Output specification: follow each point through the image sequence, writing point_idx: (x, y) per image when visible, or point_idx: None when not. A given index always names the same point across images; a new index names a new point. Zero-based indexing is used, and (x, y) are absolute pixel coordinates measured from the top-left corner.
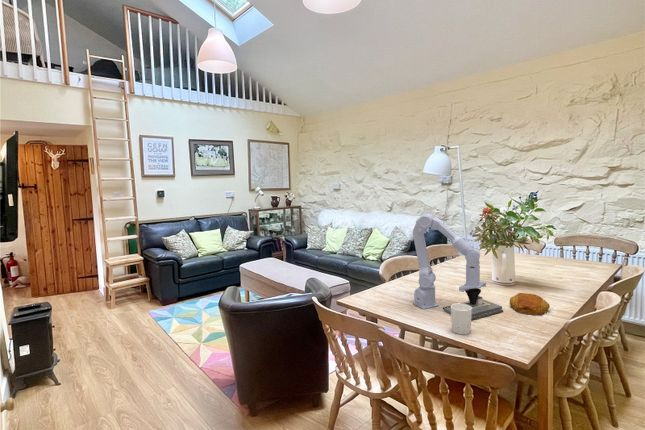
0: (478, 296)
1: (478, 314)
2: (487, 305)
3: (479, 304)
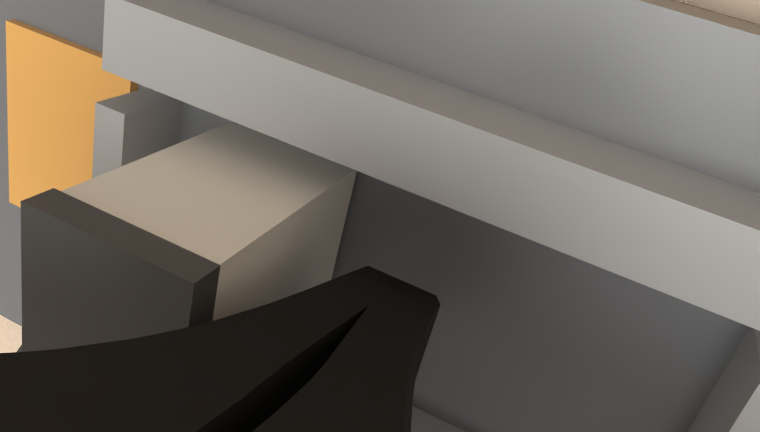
0: (62, 333)
1: (703, 13)
2: (151, 1)
3: (281, 180)
